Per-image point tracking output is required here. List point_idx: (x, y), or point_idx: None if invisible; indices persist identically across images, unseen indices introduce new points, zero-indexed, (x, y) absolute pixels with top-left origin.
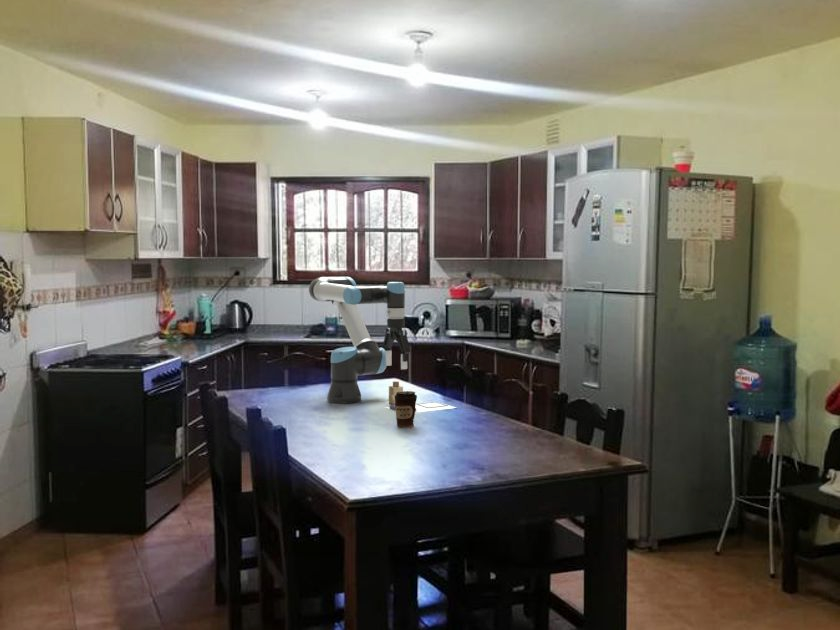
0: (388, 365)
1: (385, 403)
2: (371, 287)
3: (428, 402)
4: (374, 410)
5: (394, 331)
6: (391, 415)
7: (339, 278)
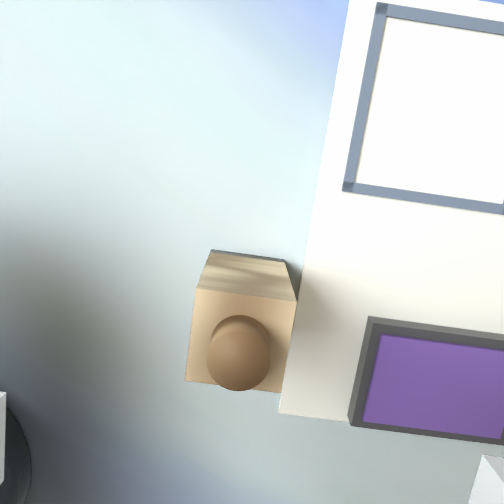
0: (2, 446)
1: (160, 315)
2: None
3: (368, 76)
4: (305, 489)
5: None
6: None
7: None
